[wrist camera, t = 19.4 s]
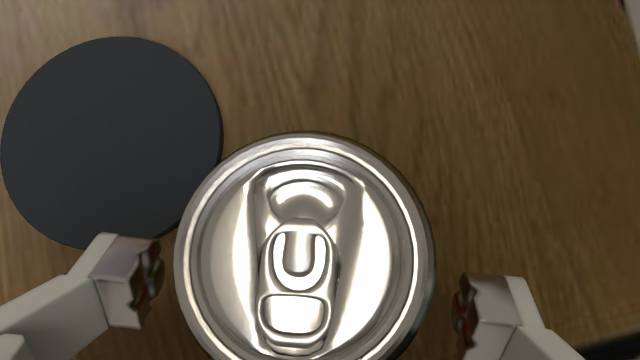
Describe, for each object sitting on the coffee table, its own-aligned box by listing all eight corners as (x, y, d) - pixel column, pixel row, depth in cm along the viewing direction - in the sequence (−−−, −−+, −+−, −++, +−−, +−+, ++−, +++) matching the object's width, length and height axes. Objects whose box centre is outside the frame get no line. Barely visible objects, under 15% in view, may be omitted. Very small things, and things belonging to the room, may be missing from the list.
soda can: (378, 206, 19) (454, 120, 8) (373, 324, 19) (450, 433, 7) (265, 199, 20) (169, 103, 8) (255, 315, 19) (128, 407, 7)
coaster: (220, 35, 21) (217, 28, 21) (226, 243, 19) (223, 242, 19) (15, 49, 21) (7, 43, 21) (1, 258, 19) (-9, 258, 19)
